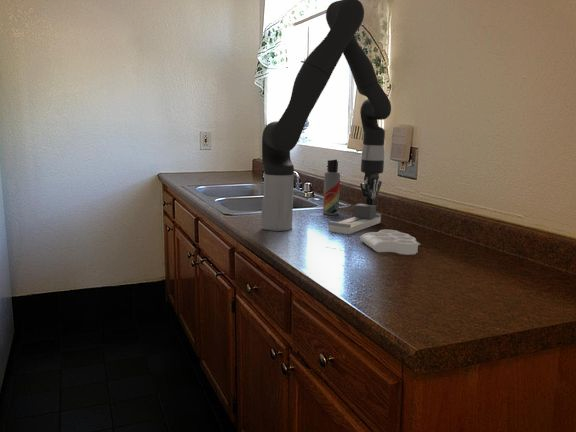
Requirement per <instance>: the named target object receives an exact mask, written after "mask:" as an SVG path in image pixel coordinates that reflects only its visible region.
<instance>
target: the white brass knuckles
mask: <svg viewBox="0 0 576 432" xmlns="http://www.w3.org/2000/svg"><path fill="white" fill-rule="evenodd" d="M359 239H360V241H361V242H363V243H364V244H365V245H367V247H369V248H371V249H372V250H373V251H375V252H377V253H396V254H398V255H408V256H409V255H417V254H418V251H419V250H418V249H419V248H418V247H419V246H420V245H421V243H420V242H418V241H417V239H416V237H414V236H412V235H411V234H409V233H407V232H406V233H405V232H402V231H399V230H396V229H395V230H394V229H380V230H379V231H377V232H376V231H375V232H374V231H372V232H365V233H364V234H362V235H360V237H359ZM416 253H417V254H416Z"/></svg>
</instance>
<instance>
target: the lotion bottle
mask: <svg viewBox="0 0 576 432" xmlns="http://www.w3.org/2000/svg"><path fill="white" fill-rule="evenodd" d="M340 183H341V173H340V172H339V160H338V159H330V160H327V170H326V171H324V181H323V205H322V213H323V214H324V215H329V216H332V215H333V216H334V215H338V214H339V209H340V207H339V206H340V190H341V189H340Z"/></svg>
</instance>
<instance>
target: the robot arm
mask: <svg viewBox="0 0 576 432" xmlns="http://www.w3.org/2000/svg"><path fill="white" fill-rule="evenodd" d="M364 18H365V8H364V6H363V3H362V2H361V1H360V0H336V1H333V2H331V3H330V4H329V5H328V6H327V9H326V13H325V20H326V23H327V25H328V27H329V29H330V30H329V31H328V32H327V35H326V36H325V37H324V38H323V40H322V41H321V42H320V43H318V45H317V46H316V47H315V48H314V49H312V51H311V52H310V53H309V55H308V56H307V57H306V59H305V60H304V62H303V64H301V67H300V69H299V70H298V73H297V74H296V77H295V79H294V81H293V86H292V89H291V90H292V91H291V95H290V98H289V99H290V100H289V103H288V105H287V107H286V109H285V110H284V112H283V114H282V115H281V116H280V118H279V119H278V121H276V120H275V121H271V122H269V123H268V124H267V125H266V126H265V127H264V129H263V131H262V135H261V137H262V138H261V162H262V166H263V198H262V199H261V226H260V227H261V229H262V230H266V231H267V230H268V231H271V232H272V231H273V232H281V231H283V232H284V231H290V230H292V229H293V213H294V212H293V206H294V181H295V180H294V175H295V167H294V164H293V163H292V160H291V151H292V150H293V149H294V148H295V147H296V146H297V144H298V142H299V140H300V138H301V135H302V133H303V130H304V127H305V125H306V123H307V121H308V118H309V117H310V114H311V112H312V111H313V109H314V107H315V106H316V104H317V102H318V100H319V98H320V97H321V95H322V93H323V92H324V89H325V87H327V84H328V83H329V80H330V79H331V76H332V74H333V73H334V70H335V68H336V67H337V65H338V63H339V61H340V59H341V58H342V55H343V56H344V58H345V60H346V62H347V65H348V66H349V70H350V72H351V74H352V77H353V81H354V82H355V83H354V84H355V86H356V89H357V91H358V93H359V94H360V95H361V96H365V97H366V99H364V100H363V101H362V104H361V106H360V112H359V114H360V120H361V125H362V130H363V140H362V150H361V165H360V172H362V173H364V176H363V183H359V185H360V190H361V193H362V196H363V198H365V199H366V201H365V202H366V203H365V204H368V205H375V199H376V197H378V194H379V192H380V190H381V186H382V181H381V180H380V174H383V173H384V167H385V166H384V165H385V139H386V138H385V137H386V136H385V135H386V134H385V133H386V131H385V129H384V128H383V127H381V126H379V123H378V122H379V121H381V120H382V121H383V120H386V119H388V118H389V117H390V115H391V112H392V105H391V101H390V99H389V97H388V95H387V93H386V92H385V90H384V89H383V87H382V86H381V85H380V83H379V81H378V80H379V79H378V78H377V74H376V72H375V68H374V66H373V64H372V62H371V59H370V58H369V57H368V55H367V53H366V52H365V51H364V50H363V49H362V47H361V45H360V44H359V42H358V40H357V38H356V36H355V34H357V31H358V30H359V29H360V27H361V25H362V23H363V21H364ZM378 120H379V121H378Z"/></svg>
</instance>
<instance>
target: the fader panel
mask: <svg viewBox="0 0 576 432" xmlns="http://www.w3.org/2000/svg"><path fill="white" fill-rule="evenodd" d="M381 219H382V214H381V213H378V212H376V217H375V218H372V219H365V218H358V217H350V218H347V219H343V220H340V221H332V220H330V221H328V232H331V233H332V232H333V233H338V234H345V235H351V234H353V233H356V232H358V231H361V230H363V229H366V228H369V227H372V226H375V225H378V224H380V223H381Z"/></svg>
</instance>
